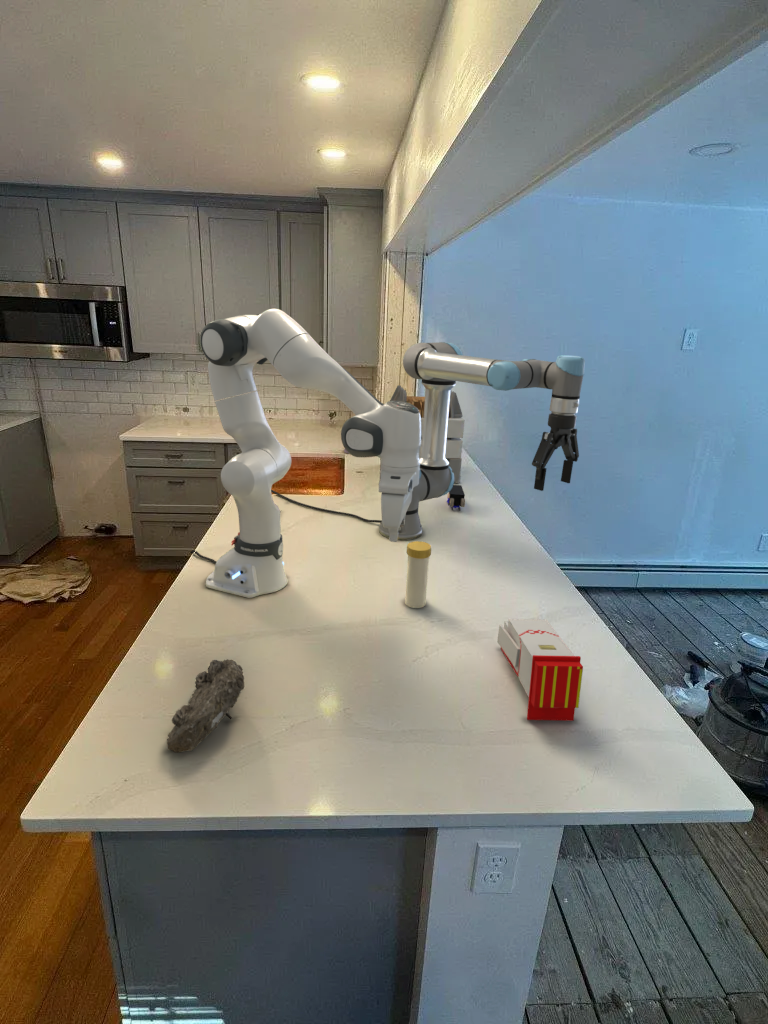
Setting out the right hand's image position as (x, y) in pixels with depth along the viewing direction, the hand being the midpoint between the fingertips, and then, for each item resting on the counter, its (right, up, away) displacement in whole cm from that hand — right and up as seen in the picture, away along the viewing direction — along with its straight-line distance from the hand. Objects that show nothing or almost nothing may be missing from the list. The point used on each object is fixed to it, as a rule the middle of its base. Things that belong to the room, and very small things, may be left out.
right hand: (552, 485), depth 166 cm
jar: (-41, -32, -12) cm, 53 cm away
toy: (-17, -44, -42) cm, 63 cm away
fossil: (-82, -47, -57) cm, 110 cm away
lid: (-40, -17, -18) cm, 47 cm away
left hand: (-46, -12, -34) cm, 59 cm away
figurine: (-67, +25, +144) cm, 161 cm away
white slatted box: (-32, +11, +109) cm, 115 cm away
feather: (-88, -9, +47) cm, 101 cm away
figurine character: (-20, -6, +65) cm, 68 cm away
